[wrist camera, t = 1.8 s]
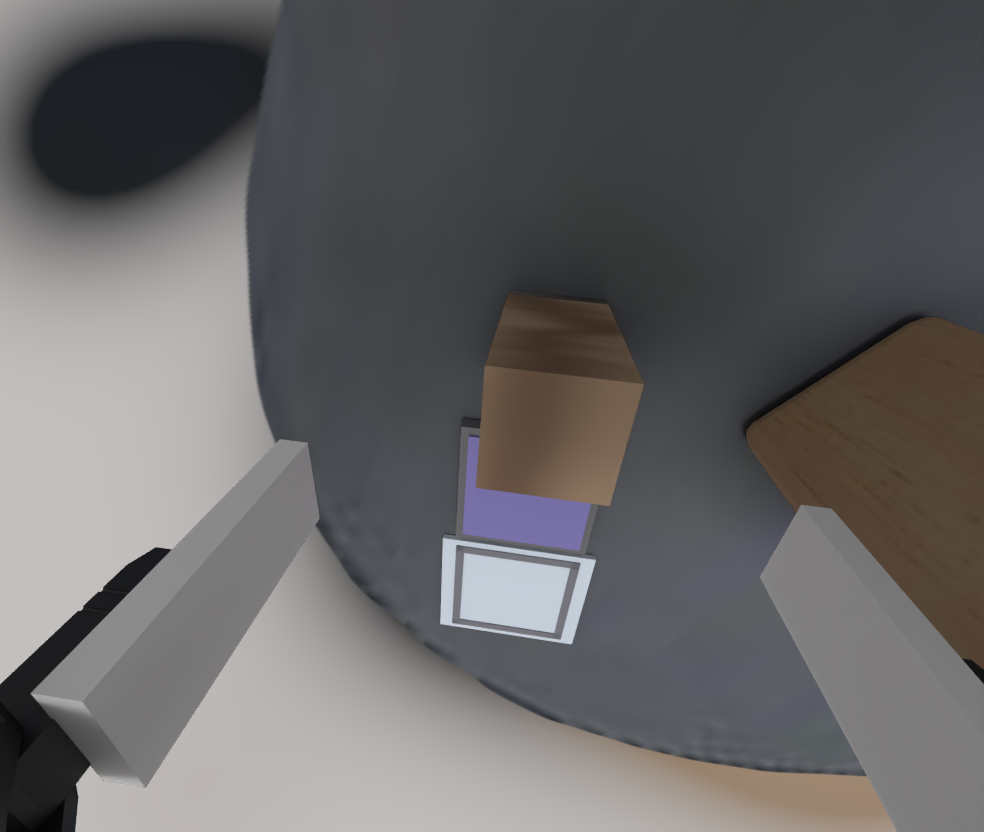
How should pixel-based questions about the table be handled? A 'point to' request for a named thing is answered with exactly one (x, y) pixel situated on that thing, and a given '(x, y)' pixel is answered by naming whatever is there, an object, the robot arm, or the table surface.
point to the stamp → (556, 400)
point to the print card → (513, 588)
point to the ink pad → (516, 509)
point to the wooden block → (898, 465)
